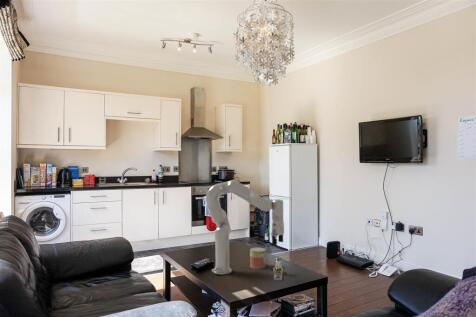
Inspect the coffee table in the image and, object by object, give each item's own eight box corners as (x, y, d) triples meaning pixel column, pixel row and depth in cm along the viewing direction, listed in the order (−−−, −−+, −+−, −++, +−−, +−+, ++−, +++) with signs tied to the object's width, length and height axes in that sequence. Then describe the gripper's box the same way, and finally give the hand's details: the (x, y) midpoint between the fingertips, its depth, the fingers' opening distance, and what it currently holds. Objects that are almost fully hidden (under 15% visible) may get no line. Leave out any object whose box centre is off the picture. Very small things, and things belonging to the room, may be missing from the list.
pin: (279, 274, 214) (279, 259, 214) (274, 273, 216) (274, 258, 217) (281, 272, 218) (281, 258, 218) (276, 271, 220) (276, 257, 220)
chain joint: (283, 280, 203) (283, 276, 203) (272, 280, 204) (272, 276, 204) (283, 267, 230) (282, 263, 230) (273, 266, 231) (273, 263, 231)
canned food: (264, 269, 226) (264, 251, 226) (248, 268, 228) (248, 251, 228) (266, 264, 237) (266, 247, 237) (251, 263, 239) (251, 247, 239)
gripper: (277, 220, 208) (277, 246, 208) (288, 216, 223) (288, 241, 223) (266, 219, 213) (266, 245, 212) (278, 215, 227) (278, 240, 227)
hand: (277, 243), depth 217 cm, fingers open, 9 cm apart
